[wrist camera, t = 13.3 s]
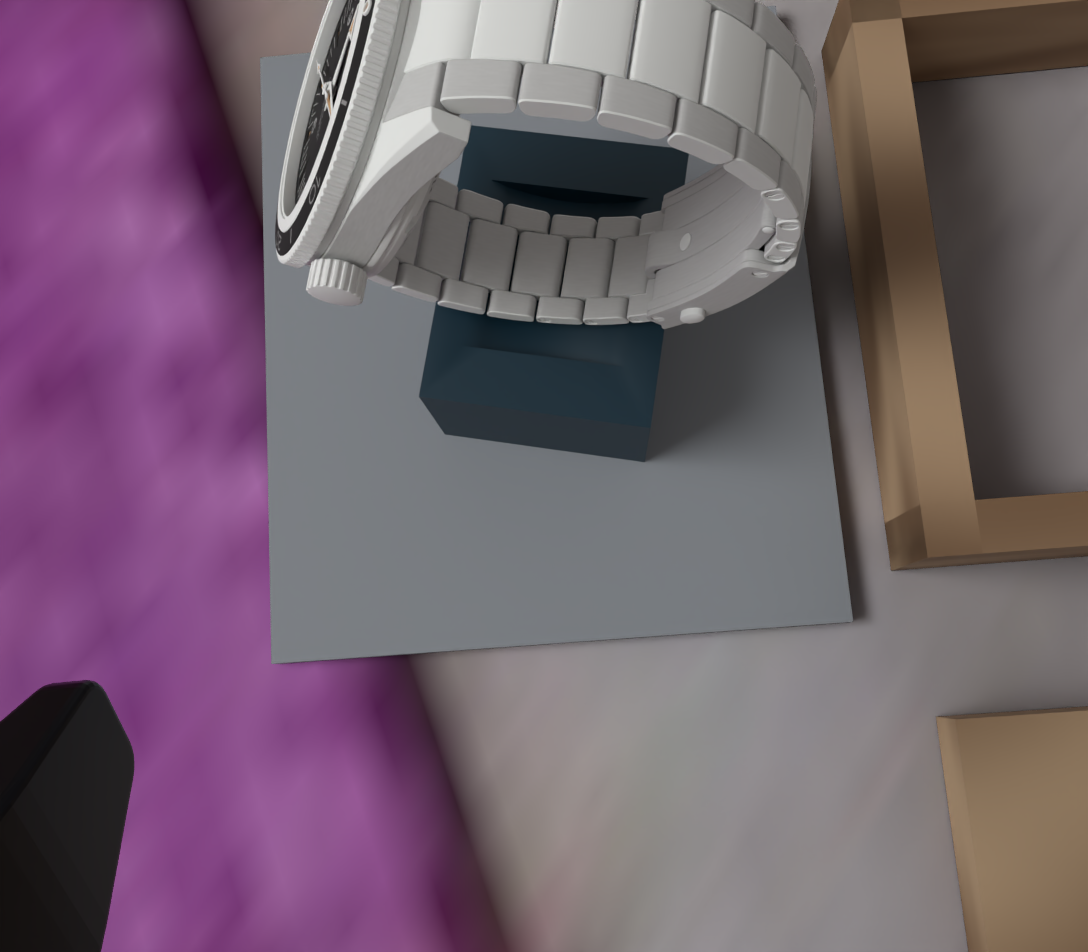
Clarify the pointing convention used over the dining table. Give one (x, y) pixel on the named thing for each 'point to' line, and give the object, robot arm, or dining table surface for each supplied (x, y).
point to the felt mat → (535, 472)
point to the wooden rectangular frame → (930, 266)
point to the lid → (1020, 826)
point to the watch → (548, 193)
